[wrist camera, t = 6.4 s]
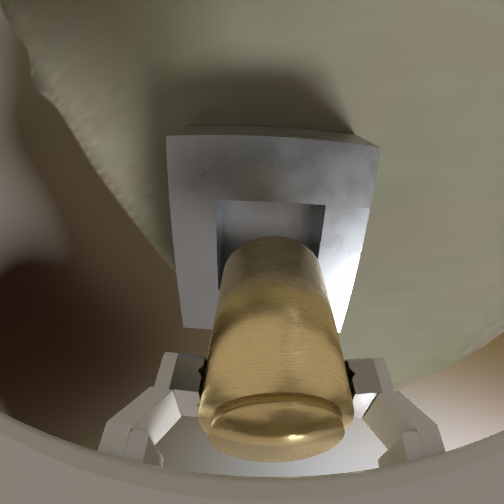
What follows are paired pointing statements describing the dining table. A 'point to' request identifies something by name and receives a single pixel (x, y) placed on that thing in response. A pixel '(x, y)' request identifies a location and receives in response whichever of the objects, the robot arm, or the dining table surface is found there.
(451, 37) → the dining table surface
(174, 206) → the housing
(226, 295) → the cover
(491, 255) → the dining table surface
